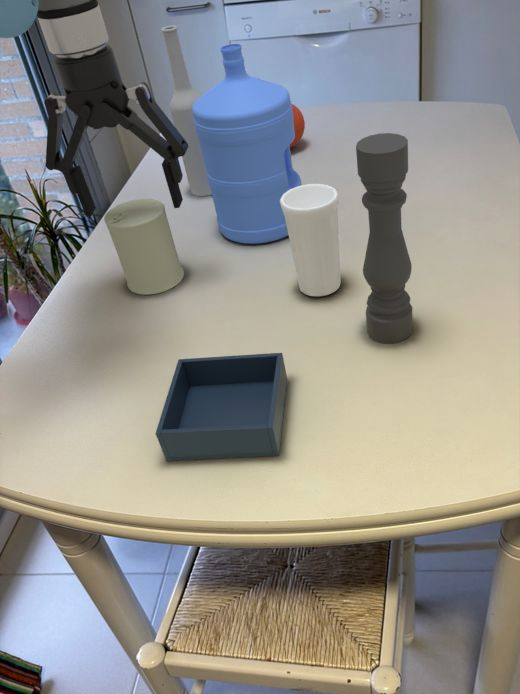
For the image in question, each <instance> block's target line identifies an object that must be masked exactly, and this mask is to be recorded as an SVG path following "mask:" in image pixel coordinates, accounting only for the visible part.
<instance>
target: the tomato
mask: <svg viewBox="0 0 520 694" xmlns="http://www.w3.org/2000/svg"><path fill="white" fill-rule="evenodd" d="M290 101H291V104H292V109H293V119H294V120H293V124H294V131H295V138H294V140H293V142H292V143H291V144H290V145H289V146H290V149H291V148H293V147H295V146H296V145H297V144H298V143H299V142H300V141H301V139H303V137H304V133H305V128H306V122H305V117H304V115H303V112H302V111H301V109H300V108H298V107H297V106H296V105H295V104H293V103H292V102H293V100H290Z"/></svg>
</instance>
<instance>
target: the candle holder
mask: <svg viewBox="0 0 520 694" xmlns="http://www.w3.org/2000/svg"><path fill="white" fill-rule="evenodd" d="M355 152H356V163H357V164H356V167H357V175H358V177H359V179H360V182H361V184H362V185H363V186H364V189H365V191H366V192H364V193H363V194H362V196H361V203H362V205H363V207H364V208H366V210H367V213H368V227H369V232H368V239H367V244H366V251H365V256H364V260H363V266H362V274H363V277H364V279H365V282H366V284H368V286H369V287H370V290H371V292H370V294H369V295H368V296H367V299H366V309H365V320H366V321H365V322H366V334H367V335H368V337H369V338H370V339H371V340H373V341H374V342H377V343H381V344H395V343H401V342H403V341H404V340H407V339H408V338H409V337H410V336H411V335H412V333H413V328H414V326H413V325H414V322H413V318H414V317H413V316H414V315H413V306H412V304H411V296H410V295H409V293H408V292H407V291H406V290H405V289H406V284H407V283H408V281H409V280H410V279H411V278H410V277H411V274H412V268H413V267H412V261H411V259H410V253H409V251H408V246H407V244H406V238H405V235H404V233H403V229H402V226H403V225H402V208H403V206H404V205H405V203H407V198H408V195H407V192H406V191H405V190H404V189H403V188H402V187H403V184H404V182H405V180H406V177H407V174H408V172H409V140H408V138H407V137H406V136H404V135H401V134H399V133H393V132H392V133H391V132H386V133H385V132H384V133H376V134H370V135H368V136H364V137H362V138H361V139H360V140H358V141H357V142H356V145H355Z"/></svg>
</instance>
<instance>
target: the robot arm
mask: <svg viewBox="0 0 520 694" xmlns="http://www.w3.org/2000/svg"><path fill="white" fill-rule="evenodd" d="M103 17H104V16H103V14H102V10H101V7H100V4H99V2H98V0H0V38H1V39H13V38H16V37H19V36H21V35H23V34H24V33H26V32H27V31H28V30H29V29H30V28H31V27H32V26H33V24H34V23H35V21H36V18H37V20H38V22H39V26H40V29H41V31H42V34H43V37H44V39H45V43H46V45H47V49H48V51H49V52H50V53H51V54H52V55H54V58H53V64H54V67H55V70H56V73H57V76H58V77H59V81H60V83H61V85H62V88H63V90H64V93H65V95H59V94H58V93H56V92H51V93H50V94H49V95H48V96H47V97H46V98H45V99H44V101H43V103H44V106H45V110H46V114H47V129H46V131H47V133H46V148H45V149H46V150H45V168H46V169H47V170H48V171H53V170H55V171H59V172H60V173H62V175H63V177H64V180H65V182H66V185H67V187H68V190H69V192H70V193H71V194H72V195H74V194H76V195H77V198H78V200H79V203H80V205H81V209H82V210H83V213H84V215H85V216H84V217H86V218H89V217H92V215H93V214H94V212H95V210H96V209H97V207H96V204H95V202H94V199H93V197H92V193H91V191H90V187H89V186H88V183H87V181H86V178H85V176H84V173H83V170H82V167H81V166H80V165H74V164H75V162H76V158H77V156H78V154H79V151H80V148H81V147H82V143H83V141H84V138H85V135H86V134H87V131H88V129H89V127H90V128H91V129H93V130H99V129H102V128H109V129H110V128H116V127H117V126H118V125H120V126H121V127H122V128H124V129H125V130H128V131H130V132H131V133H132V134H133V135H134V136H135V137H137V139H139V140H141V142H143V143H144V144H145V145H147V146H148V147H149V148H150V149H152V150H153V151H154V152H155V153H156V154H158V155H159V156H160V157H161V158H162V159H163V161H162V163H161V168H162V170H163V175H164V178H165V182H166V184H167V188H168V191H169V192H168V193H169V194H170V198H171V201H172V205H173V208H174V209H180V208H181V205H182V202H183V196H182V192H181V188H180V184H181V183H182V180H183V176H184V175H183V172H182V167H181V164H180V160H179V158H180V157H182V156H184V155H185V153H186V151H187V149H188V143H187V142H186V141H185V139H184V138H183V137H182V135H181V134H180V133H179V132H178V130H177V129H176V128H175V126H174V123H173V122H172V121H171V120H170V118H169V117H168V116H167V115H166V114H165V112H164V111H163V110H162V108H161V107H160V106H159V104H158V103H157V102H156V100H155V99H154V97H153V94H152V92H151V89H150V87H149V85H148V83H147V82H145V81H141V82H139V84H138V85H136V86H132V87H129V88H127V87H126V85H125V84H124V82H123V80H122V77H121V73H120V70H119V66H118V63H117V59H116V56H115V53H114V49H113V47H111V46H110V45H109V44H107V43H108V42H109V40H110V37H109V34H108V31H107V28H106V23H105V21H104V18H103ZM130 100H132V101H133V102H134V103H135V105H137V106H140V108H141V110H142V112H143V113H144V114H145V115H146V117H147V119H149V120H150V122H151V123H152V125H154V127H155V128H156V129H157V130H158V132H159V133H158V132H157V131H156V130H155V129H153V128H152V127H151V126H150V125H149V124H147V123H146V122H145V121H144V120H143V119H142V118H140V117H139V116H138V114H137V112H136V111H134V110H133V109H132V108H131V107H129V105H128V104H129V102H130ZM67 108H68V109H69V111H71V112H72V113H73V115H75V116H77V119H76V121H75V124H74V126H73V131H72V133H71V136H70V138H69V141H68V144H67V146H66V148H65V152H64V155H63V156H62V157H61V149H62V136H63V123H64V121H63V120H64V113H65V111H66V110H67ZM160 134H161V135H160Z"/></svg>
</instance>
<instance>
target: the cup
mask: <svg viewBox="0 0 520 694" xmlns="http://www.w3.org/2000/svg"><path fill="white" fill-rule="evenodd" d="M339 197H340V196H339V193H338V190H337V189H335V188H334V187H332V186H331V185H327V184H322V183H309V184H308V183H307V184H302V186H298V187H295V188H293V189H290V190H288V191H287V192H286V193H284V194H283V196H282V197H281V199H280V204H281V208H282V211H283V214H284V216H285V220H286V225H287V230H288V239H289V244H290V248H291V253H292V254H291V255H292V259H293V263H294V268H295V272H296V278H297V282H298V285H299V286H298V288H299V291H300V292H302V294H304V295H307V296H310V297H325V296H328V295H330V294H333V293H335V292H336V291H337V290H338V289H339V288H340V286H341V283H342V282H341V258H340V257H341V256H340V237H339V235H340V234H339V233H340V232H339V214H338V213H339V212H338V205H339Z"/></svg>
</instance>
